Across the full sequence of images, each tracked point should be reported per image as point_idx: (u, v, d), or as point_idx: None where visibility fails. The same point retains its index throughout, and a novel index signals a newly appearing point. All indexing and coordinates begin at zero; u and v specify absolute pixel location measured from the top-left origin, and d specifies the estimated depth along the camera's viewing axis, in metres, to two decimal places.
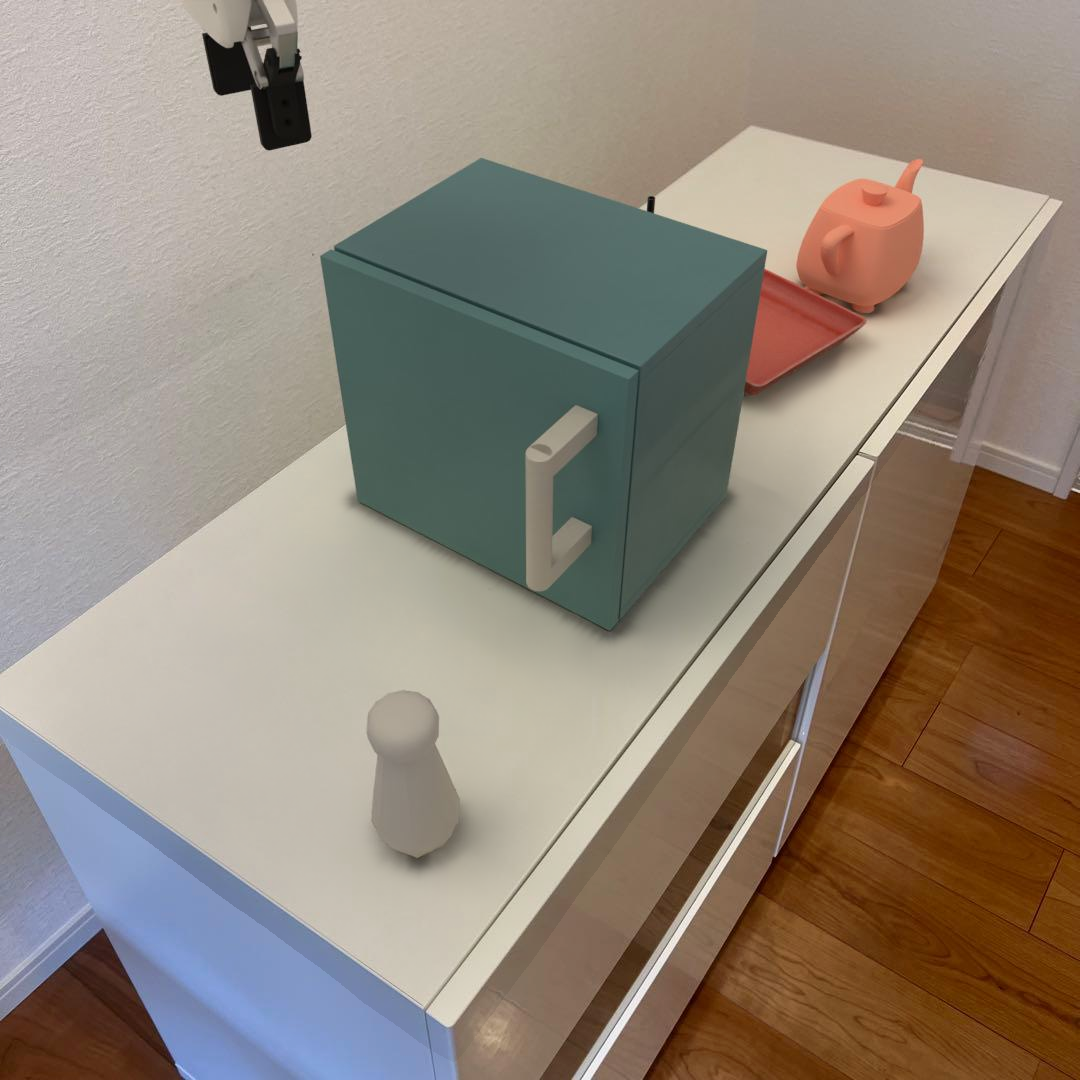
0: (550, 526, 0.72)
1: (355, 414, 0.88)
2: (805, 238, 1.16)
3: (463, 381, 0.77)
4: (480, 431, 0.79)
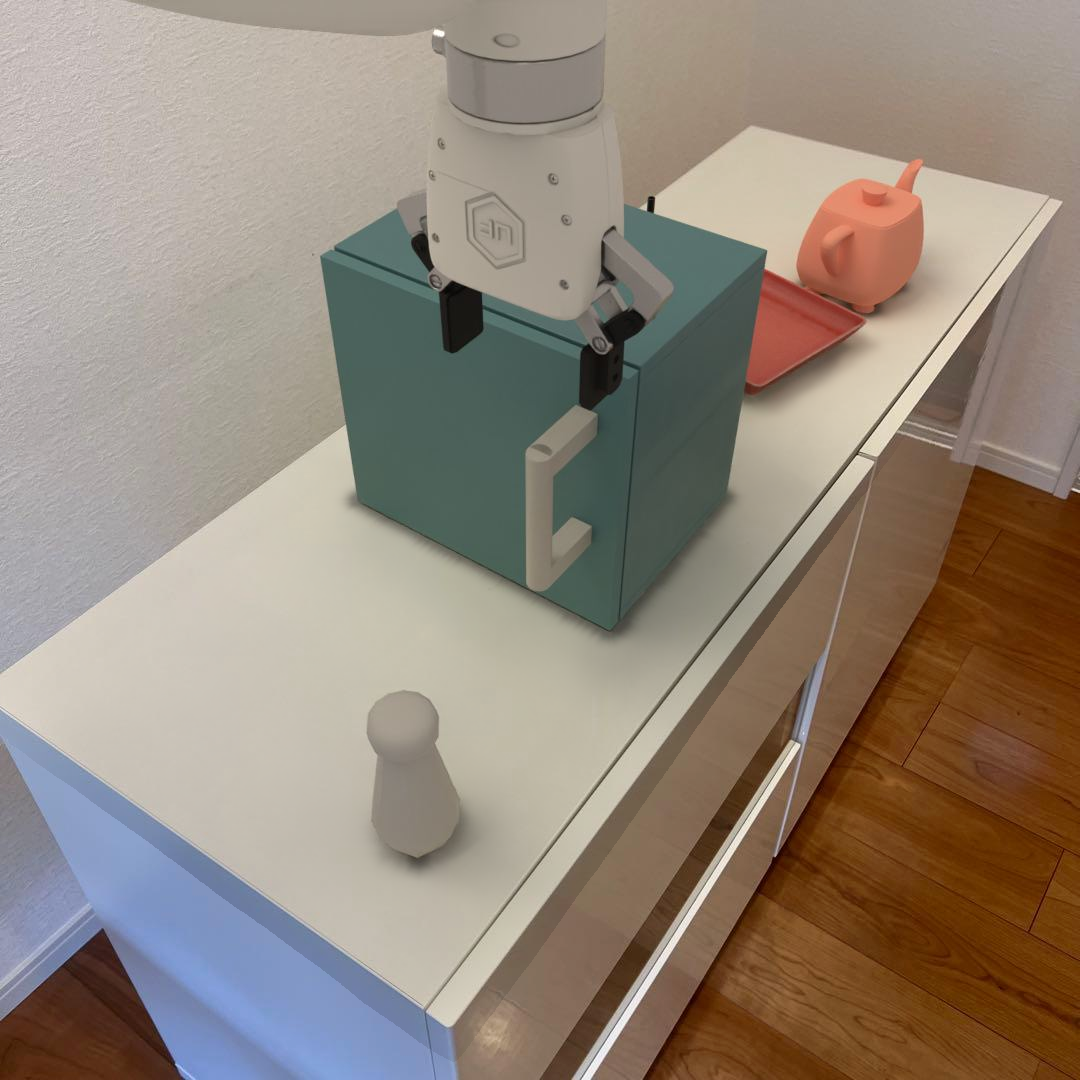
0: (550, 526, 0.72)
1: (355, 414, 0.88)
2: (805, 238, 1.16)
3: (463, 381, 0.77)
4: (480, 431, 0.79)
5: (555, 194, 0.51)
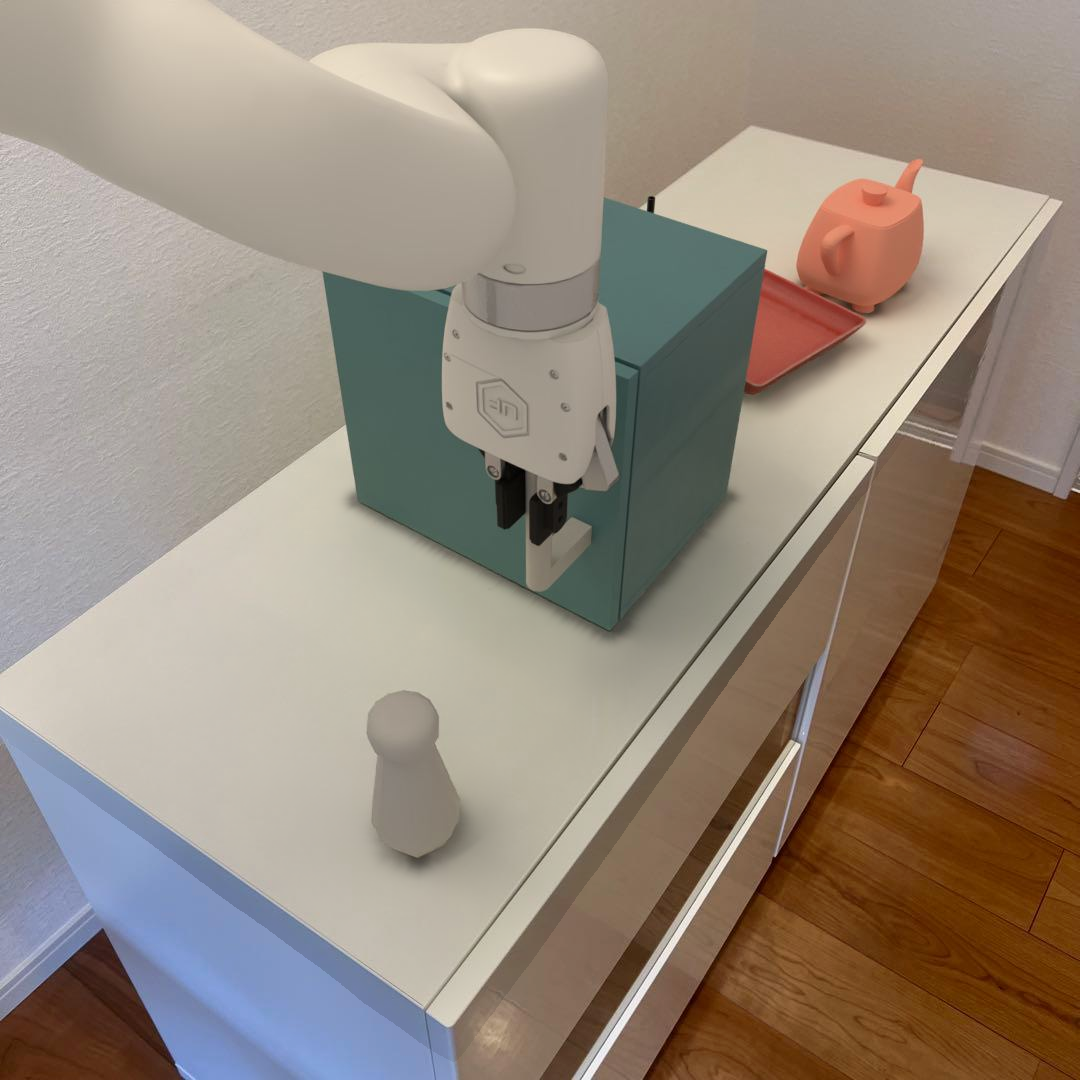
0: None
1: (355, 415, 0.88)
2: (805, 238, 1.16)
3: None
4: None
5: (555, 386, 0.59)
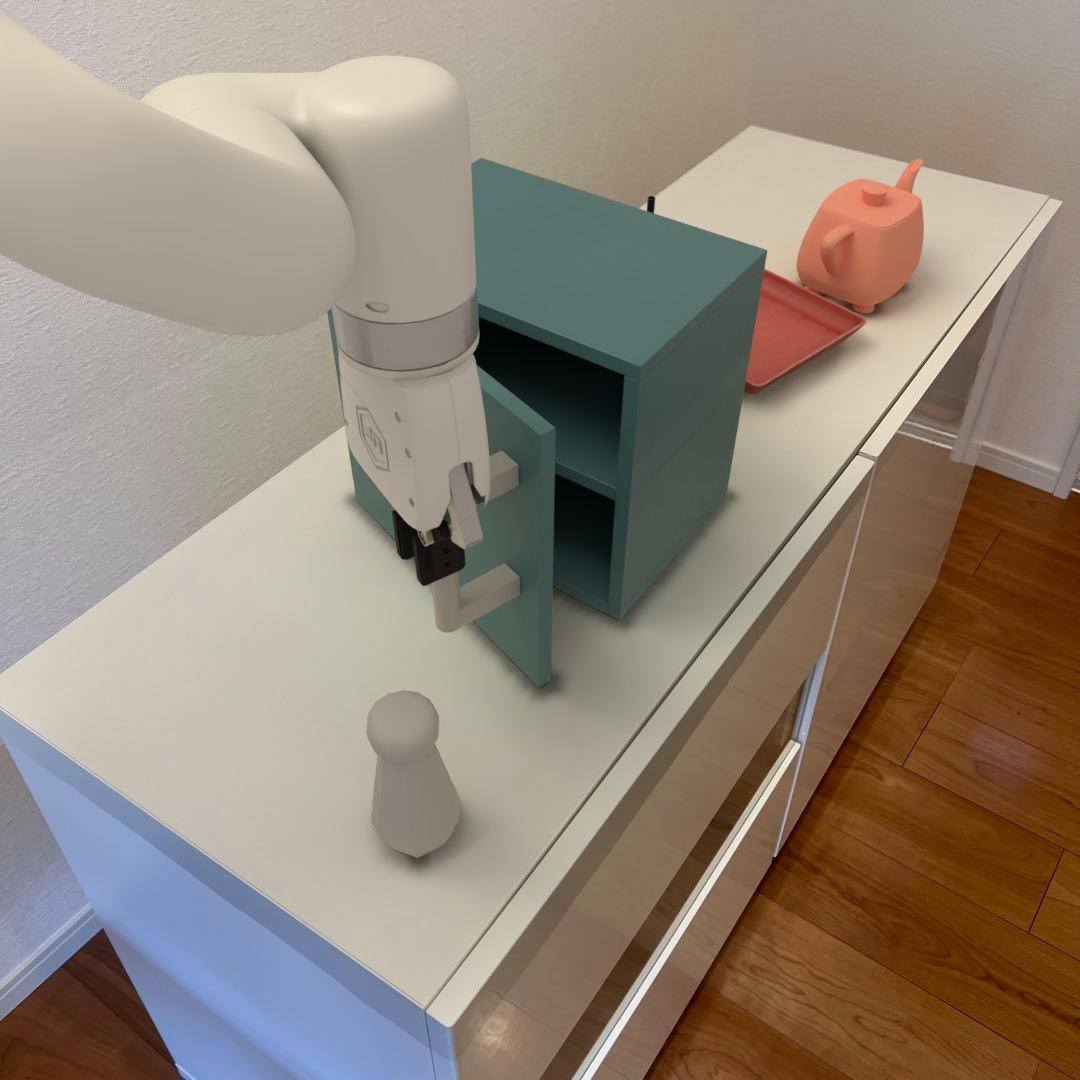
0: None
1: None
2: (805, 238, 1.16)
3: None
4: None
5: (399, 429, 0.56)
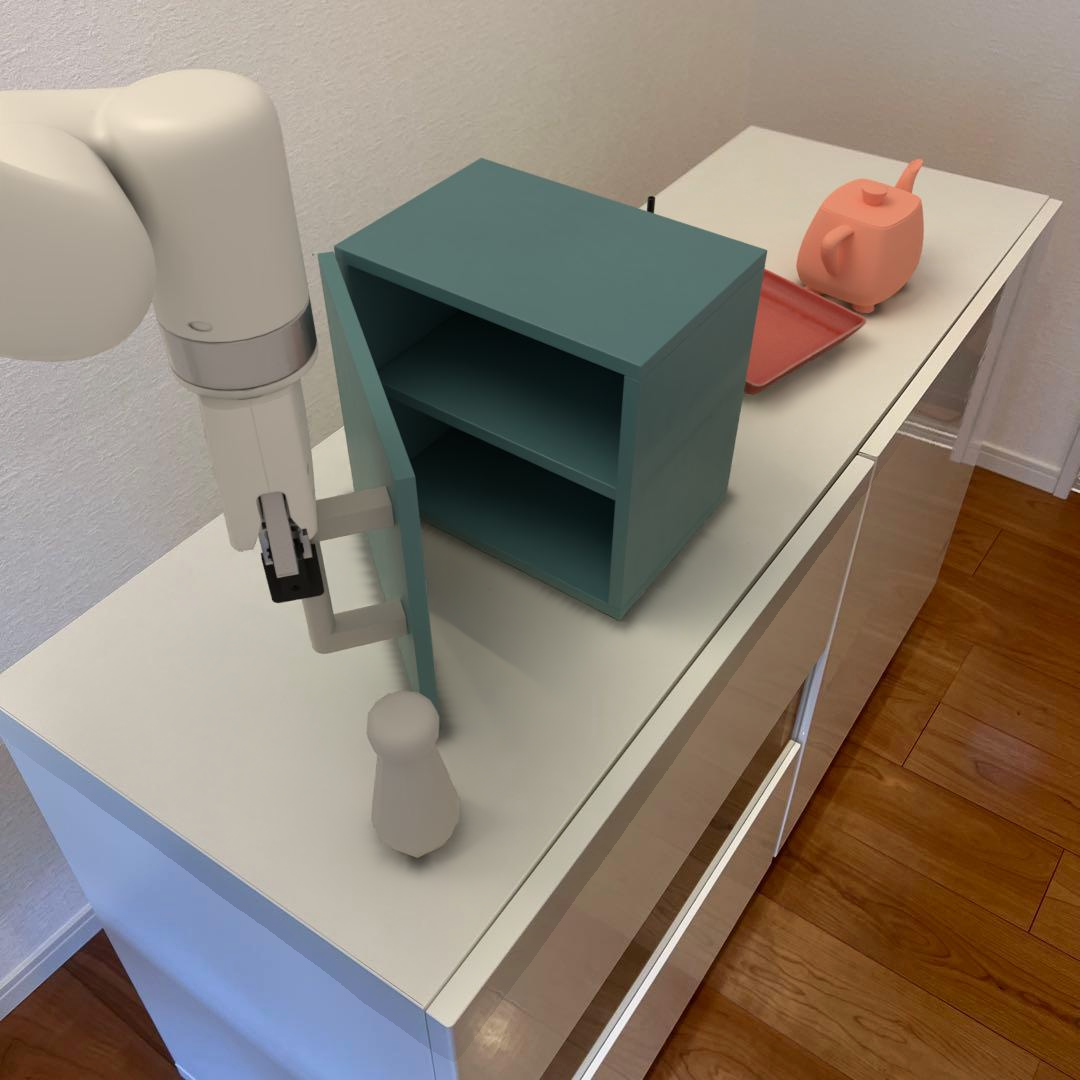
0: None
1: (343, 416, 0.87)
2: (805, 238, 1.16)
3: (360, 421, 0.74)
4: (370, 476, 0.76)
5: (207, 445, 0.55)
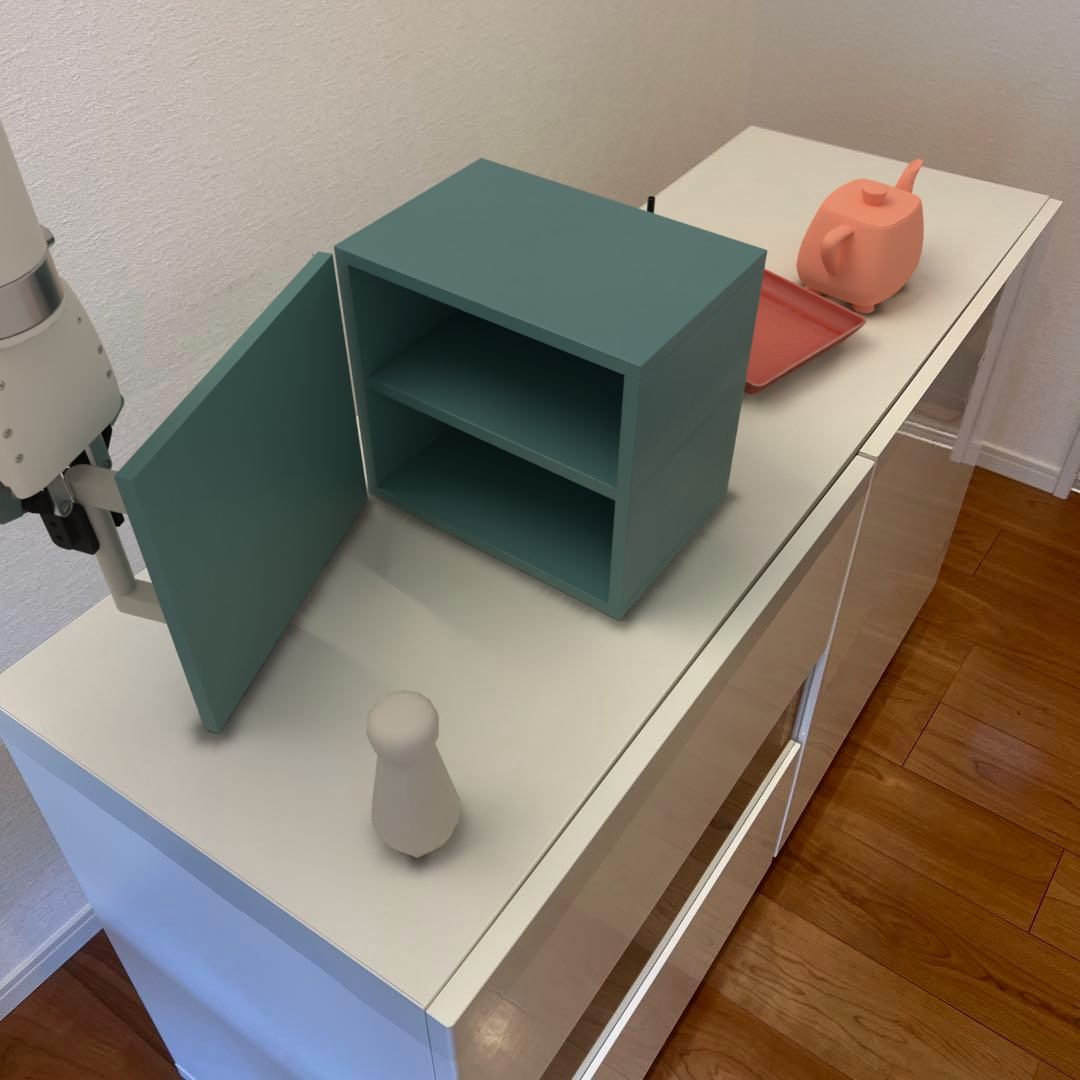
0: (98, 551, 0.70)
1: None
2: (805, 238, 1.16)
3: None
4: None
5: None
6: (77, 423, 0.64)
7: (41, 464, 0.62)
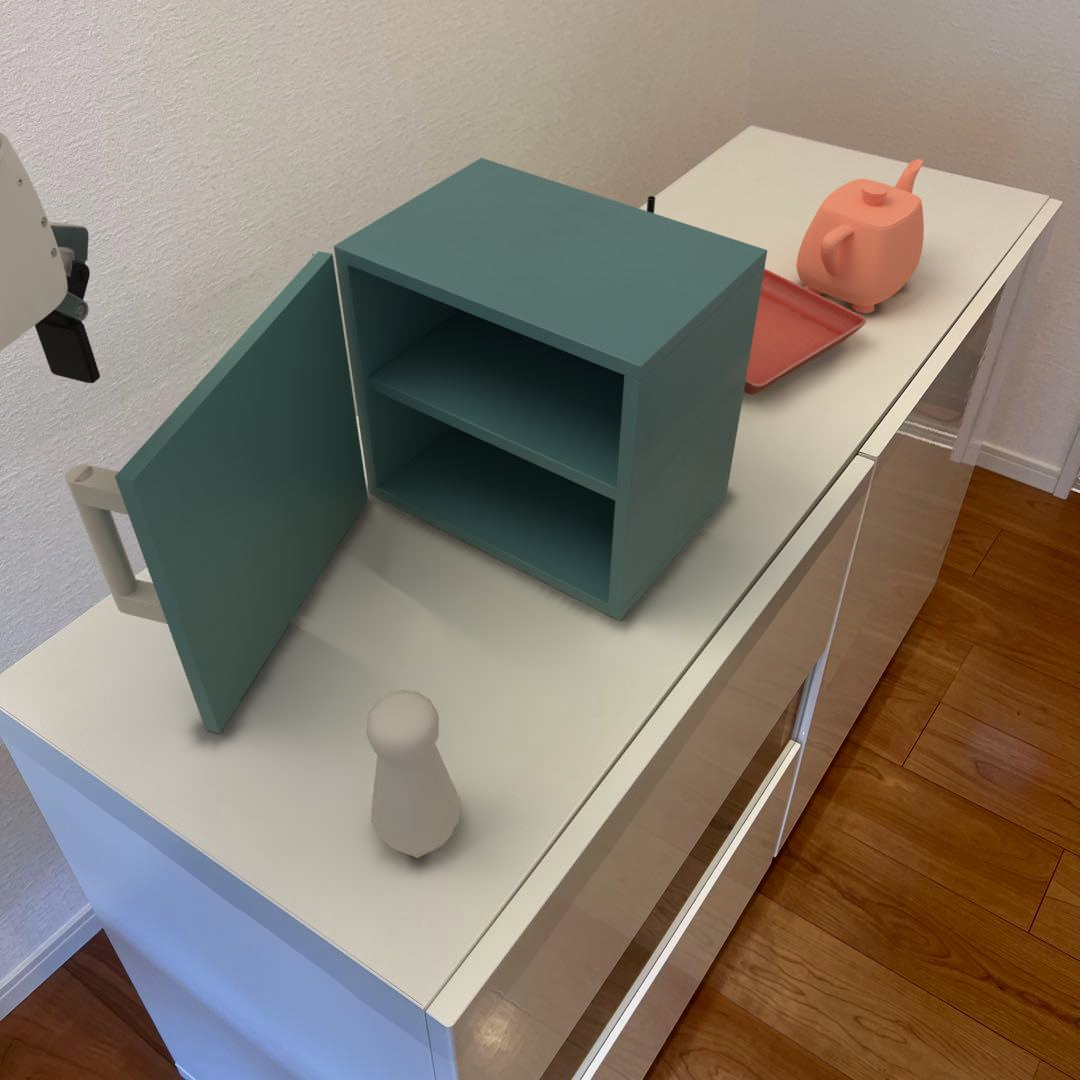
0: (99, 552, 0.70)
1: None
2: (805, 238, 1.16)
3: None
4: None
5: None
6: (15, 301, 0.57)
7: None
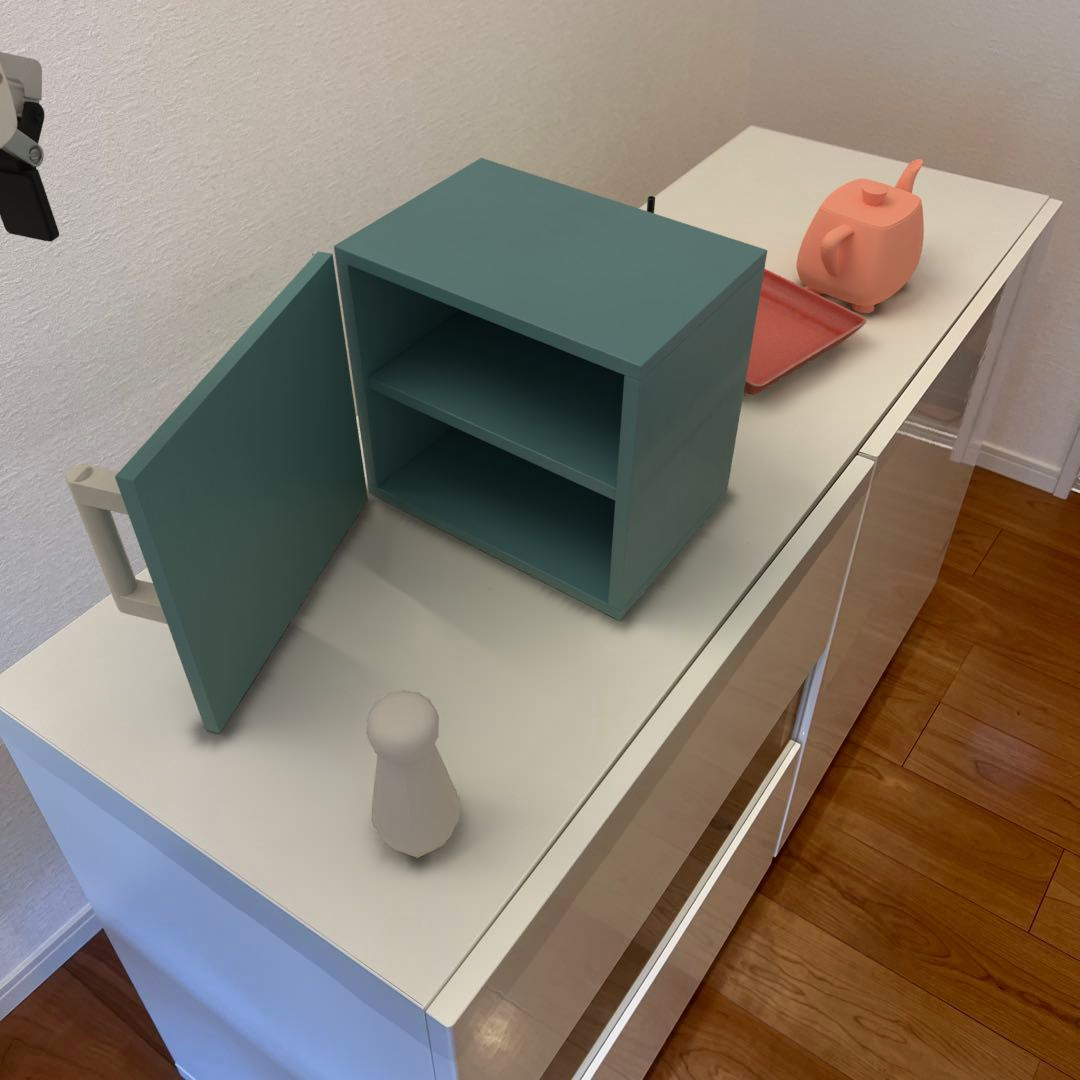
0: (99, 552, 0.70)
1: None
2: (805, 238, 1.16)
3: None
4: None
5: None
6: None
7: None
